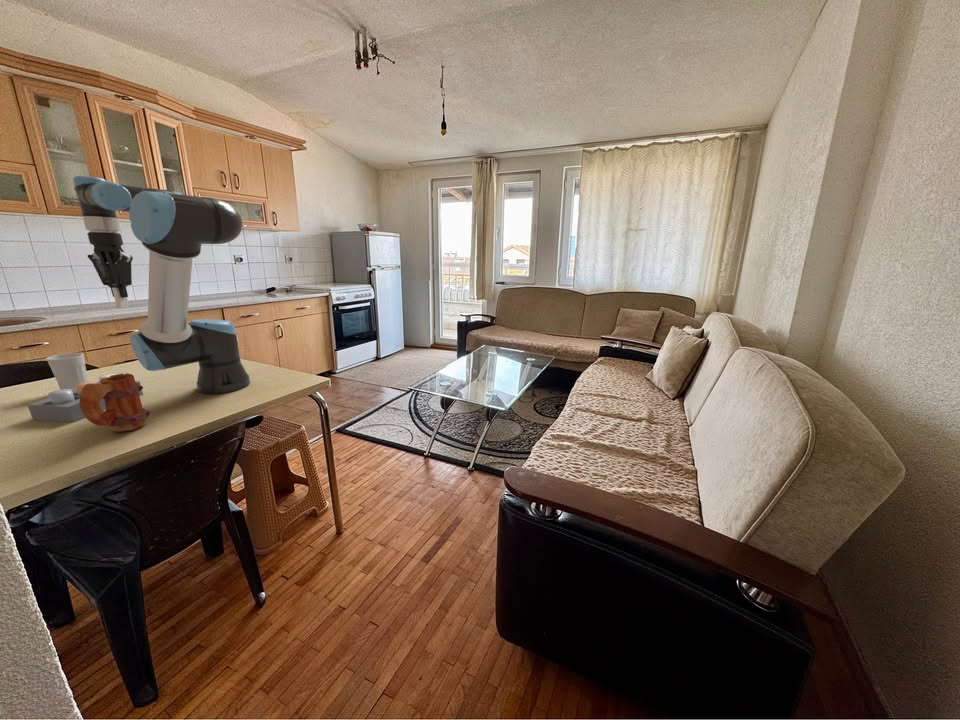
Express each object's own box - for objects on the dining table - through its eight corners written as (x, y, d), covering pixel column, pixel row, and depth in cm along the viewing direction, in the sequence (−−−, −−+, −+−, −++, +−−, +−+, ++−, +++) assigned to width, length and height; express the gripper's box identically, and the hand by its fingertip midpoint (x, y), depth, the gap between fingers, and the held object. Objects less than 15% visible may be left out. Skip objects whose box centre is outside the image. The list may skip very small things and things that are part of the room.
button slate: (81, 405, 105) (76, 389, 104) (64, 412, 101) (58, 395, 99) (67, 405, 105) (61, 388, 104) (49, 411, 101) (43, 394, 100)
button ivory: (126, 389, 117) (122, 374, 116) (112, 394, 113) (107, 379, 112) (113, 388, 118) (109, 373, 116) (98, 393, 113) (94, 378, 112)
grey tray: (143, 394, 119) (139, 381, 118) (74, 422, 100) (69, 406, 99) (108, 392, 120) (104, 379, 118) (32, 419, 101) (27, 404, 99)
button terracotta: (105, 396, 111) (100, 381, 110) (89, 402, 107) (84, 386, 106) (91, 396, 111) (86, 380, 110) (75, 402, 107) (70, 386, 106)
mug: (128, 420, 102) (114, 368, 97) (160, 419, 103) (147, 368, 98) (77, 447, 88) (58, 388, 84) (114, 446, 89) (97, 388, 84)
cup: (70, 397, 116) (58, 360, 112) (51, 394, 117) (39, 358, 114) (100, 388, 123) (90, 353, 120) (81, 386, 125) (71, 351, 121)
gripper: (135, 232, 118) (152, 306, 125) (96, 232, 119) (116, 305, 125) (111, 231, 111) (131, 309, 118) (70, 230, 112) (92, 308, 118)
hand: (123, 307), depth 122 cm, fingers closed
